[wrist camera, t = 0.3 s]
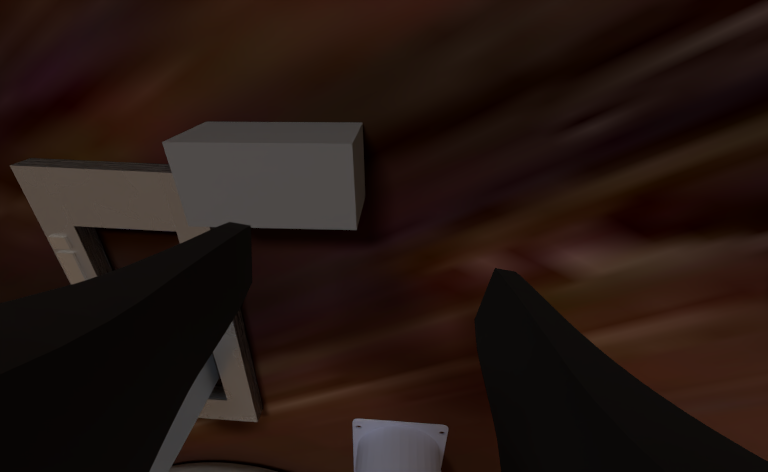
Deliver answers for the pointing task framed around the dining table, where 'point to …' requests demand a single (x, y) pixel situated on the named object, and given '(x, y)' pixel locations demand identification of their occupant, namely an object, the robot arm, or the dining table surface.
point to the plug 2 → (270, 174)
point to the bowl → (217, 467)
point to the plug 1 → (186, 416)
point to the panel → (130, 211)
